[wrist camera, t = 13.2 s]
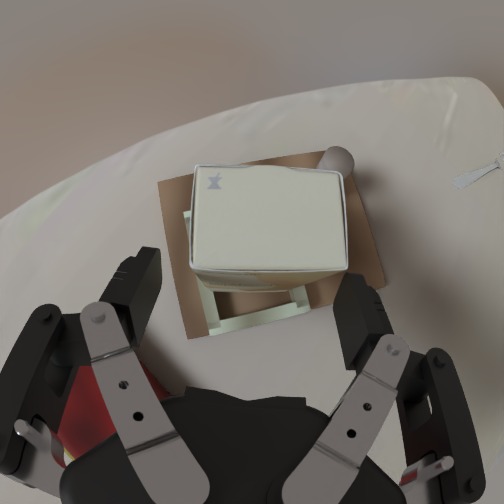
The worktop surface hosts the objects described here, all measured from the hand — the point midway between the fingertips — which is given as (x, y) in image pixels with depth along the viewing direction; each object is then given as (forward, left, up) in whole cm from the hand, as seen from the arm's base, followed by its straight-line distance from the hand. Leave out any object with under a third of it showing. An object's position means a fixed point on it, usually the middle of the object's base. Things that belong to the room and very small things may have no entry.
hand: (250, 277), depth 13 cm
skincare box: (-1, -2, -10) cm, 11 cm away
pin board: (-4, -4, -13) cm, 14 cm away
